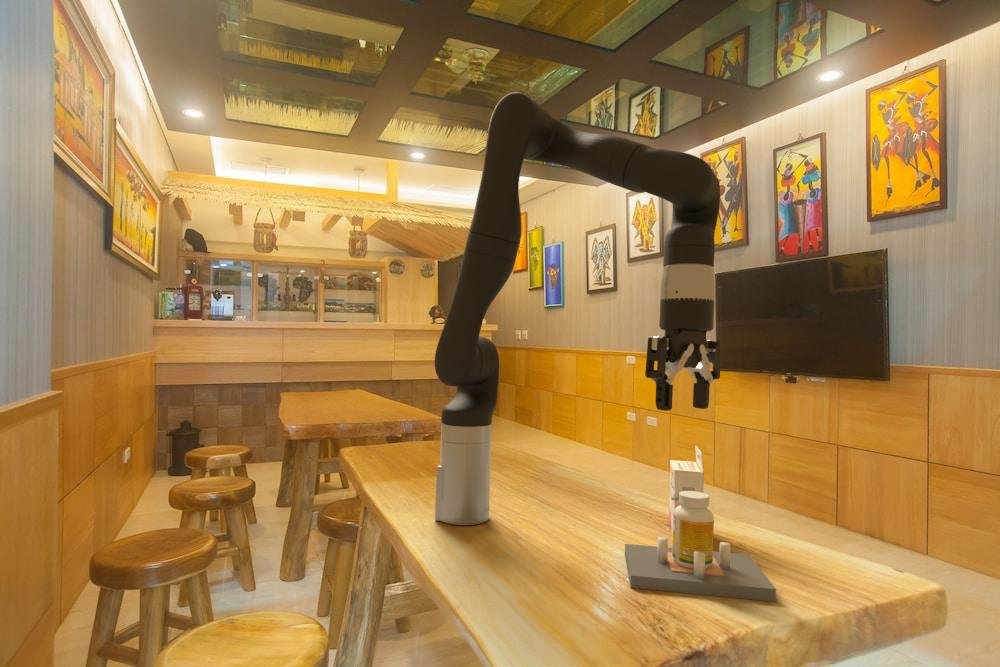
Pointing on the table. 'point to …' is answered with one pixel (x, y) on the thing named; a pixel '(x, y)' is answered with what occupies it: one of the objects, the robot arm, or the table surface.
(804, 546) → the table surface
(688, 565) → the supplement bottle
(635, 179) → the robot arm
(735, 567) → the pin tray
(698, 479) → the ink cartridge box
